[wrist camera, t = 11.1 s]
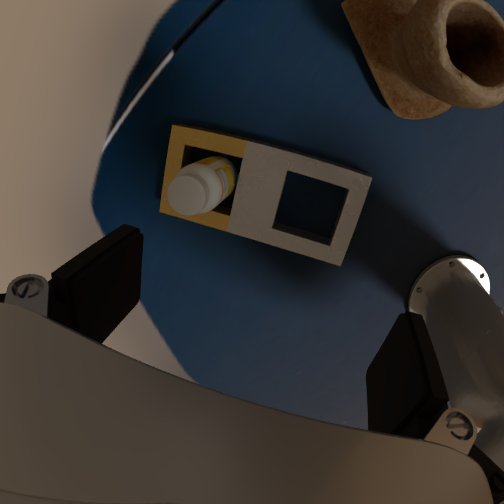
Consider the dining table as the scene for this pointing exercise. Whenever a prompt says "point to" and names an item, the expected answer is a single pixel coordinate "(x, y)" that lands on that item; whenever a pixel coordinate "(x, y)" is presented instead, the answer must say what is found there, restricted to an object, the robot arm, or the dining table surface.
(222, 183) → the supplement bottle
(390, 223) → the dining table surface
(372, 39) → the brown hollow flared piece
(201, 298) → the dining table surface
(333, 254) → the holder
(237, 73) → the dining table surface
